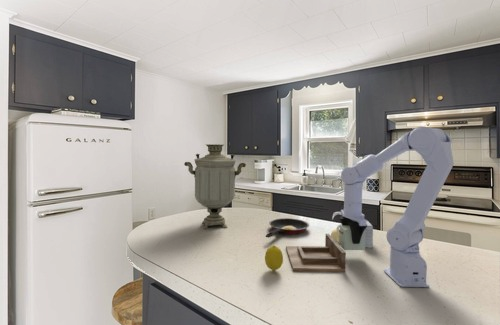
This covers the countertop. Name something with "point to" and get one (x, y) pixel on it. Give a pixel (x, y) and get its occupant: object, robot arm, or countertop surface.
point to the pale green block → (350, 239)
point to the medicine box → (369, 235)
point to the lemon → (273, 258)
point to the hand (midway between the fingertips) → (352, 240)
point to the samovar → (214, 182)
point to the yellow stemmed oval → (336, 233)
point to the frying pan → (287, 226)
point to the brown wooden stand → (318, 257)
